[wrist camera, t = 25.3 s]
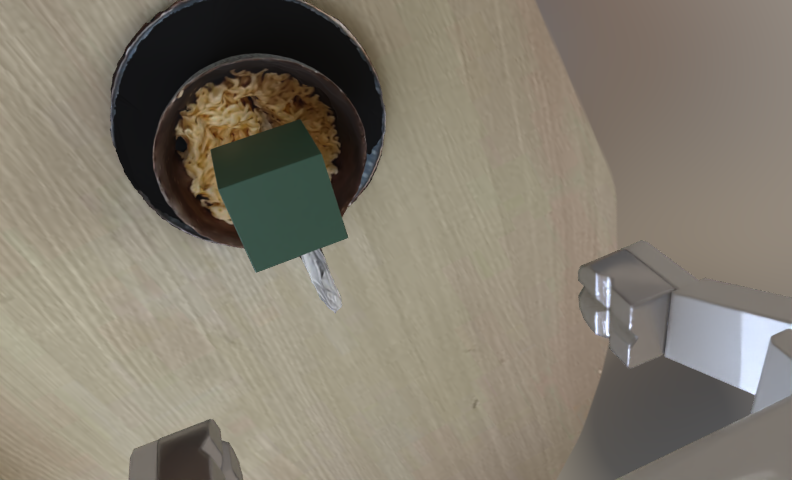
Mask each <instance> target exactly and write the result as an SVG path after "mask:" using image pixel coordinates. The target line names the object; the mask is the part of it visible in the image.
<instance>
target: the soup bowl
mask: <svg viewBox="0 0 792 480" xmlns="http://www.w3.org/2000/svg"><path fill="white" fill-rule="evenodd" d="M110 117H111V120H110V121H111V129H110V131H111V136H112V140H113V145H114V147H115V148H116V152H117V154H118V157H119V160H120V162H121V164H122V167H123V169H124V172H125V174H126V176H127V177H128V179H129V180H130V181H131V183H132V185H133V186H134V188H135V189H136V190H137V191H138V193H139V194H141V195H142V197H143V199H144V200H145V201H146V202H147V204H148V205H149V207H151V208H152V209H154V210H155V211H156V213H157V214H158V215H159V216H161V218H162V219H164V220H166V221H167V222H169V223H170V224H171V225H172V226H174V227H176V228H178V229H179V230H182V231H184V232H186V233H188V234H190V235H192V236H194V237H197V238H200V239H203V240H206V241H210V242H212V243H216V244H223V245H227V246H233V247H238V248H244V246H243V244H242V242H241V240H240V237H239V235H238V233H237V231H236V229H235V226H234V224H233V222H232V220H231V218H230V215H229V213H228V211H227V209H226V207H225V204H224V202H223V200H222V198H221V196H220V193H219V191H218V187H217V182H216V177H215V172H214V167H213V162H212V157H211V151H210V150H211V149H213V148H216V147H219V146H222V145H225V144H228V143H231V142H234V141H237V140H240V139H243V138H245V137H248V136H251V135H254V134H257V133H260V132H263V131H266V130H269V129H272V128H275V127H278V126H281V125H284V124H287V123H290V122H293V121H296V120H299V119H300V120H301V121H302V123H303V124H304V126H305V127H306V129H307V131H308V132H309V134H310V136H311V137H312V139H313V140H314V142H315V144H316V145H317V147H318V149H319V150H320V152H321V154H322V156H323V159H324V163H325V166H326V169H327V172H328V175H329V178H330V182H331V185H332V188H333V191H334V194H335V197H336V201H337V204H338V207H339V210H340V213H341V216H342V217H343V214H344V213H345V211H346V209H347V207H349V206H350V205H351V204H352V203H353V202H355V200H356V199H357V197H358V196H359V195H360V194H361V193H362V192H363V190H365V188H366V187H367V186H368V184H369V183H370V181H371V180H372V177H373V175H374V173H375V171H376V169H377V165H378V163H379V160H380V157H381V156H382V155H381V153H382V147H383V141H384V134H385V131H386V130H385V128H386V127H385V126H386V123H385V122H386V119H385V117H386V112H385V105H384V103H383V98H382V91H381V87H380V83H379V79H378V76H377V73H376V71H375V69H374V67H373V65H372V63H371V61H370V59H369V57H368V56H367V54H366V52H365V50H364V49H363V47H362V46H361V44H360V43H359V42H358V41H357V39H356V37H354V36H353V35H352V33H351V32H350V31H349V30H348V29H347V27H346V26H344V25H343V24H342V23H341V22H340V21H339V20H338V19H336V18H334V17H333V16H330V15H328V14H327V13H325V12H323V11H321V10H320V9H318V8H316V7H315V6H313V5H311V4H309V3H306V2H304V1H302V0H181V1H178V2H175V3H174V4H173V5H172V6H170V7H169V8H168V9H167V10H166V11H162V12H159V13H158V14H156V15H155V17H154V18H153V19H152V20H151V21H150V22H149V23H145V24H144V26H143V27H142V28H141V29H140V30H139V32H138V33H137V34H136V35H135V36H134V38H133V39H132V40H131V42H130V43H129V44H128V46H127V47H126V49H125V53H124V54H123V56H122V57H121V59H120V60H119V62H118V64H117V68H116V70H115V72H114V74H113V78H112V86H111V115H110ZM299 257H300V258H301V259H302V261H303V262H304V265H305V267H306V269H307V271H308V273H309V275H310V277H311V281H312V283H313V284H314V286H315V288H316V290H317V292H318V295H319V297H320V299H321V300H322V301H324V302H325V304H326V305H327V307H328V308H329V309H331V310H333V311H334V312H335V313H336V311H337V310H338V309H339V308H341V307H342V303H341V302H342V300H341V295H340V293H339V291H338V289H337V288H336V286H335V284H334V280H333V278H332V276H331V275H330V271H329V268H328V265H327V263H326V259H325V257H324V254H323V252H322V249H321V248H320V249H317V250H315V251H312V252H310V253H307V254H304V255H302V256H299Z"/></svg>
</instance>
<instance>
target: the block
mask: <svg viewBox="0 0 792 480" xmlns="http://www.w3.org/2000/svg"><path fill="white" fill-rule="evenodd" d="M210 151H211V157H212V162H213V167H214V172H215V177H216V182H217V187H218V191H219V193H220V196H221V198H222V200H223V202H224V204H225V207H226V209H227V211H228V213H229V215H230V218H231V220H232V222H233V224H234V226H235V229H236V231H237V233H238V235H239V237H240V240H241V242H242V244H243V246H244V248H245V251H246V253H247V255H248V257H249V259H250V262H251V264H252V266H253V268H254V270H255V272H259V271H262V270H265V269H267V268H270V267H273V266H275V265H278V264H281V263H283V262H286V261H288V260H291V259H294V258H296V257H299V256H302V255H304V254H307V253H310V252H312V251H315V250H317V249H320V248H323V247H325V246H328V245H331V244H333V243H336V242H339V241H341V240H344V239H346V238H348V235H347V232H346V229H345V226H344V223H343V220H342V216H341V213H340V210H339V207H338V204H337V201H336V197H335V194H334V191H333V188H332V185H331V182H330V178H329V175H328V172H327V169H326V166H325V163H324V159H323V156H322V154H321V152H320V150H319V149H318V147H317V145H316V144H315V142H314V140H313V139H312V137H311V136H310V134H309V132H308V131H307V129H306V127H305V126H304V124H303V123H302V121H301V120H300V119H299V120H296V121H293V122H290V123H287V124H284V125H281V126H278V127H275V128H272V129H269V130H266V131H263V132H260V133H257V134H254V135H251V136H248V137H245V138H243V139H240V140H237V141H234V142H231V143H228V144H225V145H222V146H219V147H216V148H213V149H211V150H210Z"/></svg>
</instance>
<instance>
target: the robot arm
mask: <svg viewBox="0 0 792 480" xmlns="http://www.w3.org/2000/svg"><path fill="white" fill-rule="evenodd" d="M578 281H579V282H580V283H581V284H582V285H583V286H584V287H583V289H582V290H581V292H580V294H579V308H580V310H581V313H582V316H583V318H584V320H585V321H586V323H587V324H588V326H589V327H590V328H591V329H592V331H593V332H594V333H595V334H596V335H599V336H602V337H605V338H609V349H611V351H612V352H613V353H614V354H615V355H616V356H617V357H618V358H619V359H620V360H621V361H622V362H623V363H624V364H625V365H626V366H627V367H628V368H629V369H630V368H633V367H636V366H638V365H640V364H643V363H645V362H648V361H650V360H652V359H655V358H657V357H660V356H662V355H664V354H665V357H667V358H669V359H672V360H674V361H676V362H679V363H681V364H683V365H686V366H688V367H691V368H693V369H695V370H698V371H700V372H702V373H705V374H707V375H709V376H712V377H714V378H716V379H719V380H721V381H724V382H726V383H728V384H731V385H733V386H735V387H737V388H740V389H742V390H745V391H747V392H750V393H752V394H754V395H755V398H754V402H753V406H752V410H751V413H750V415H748V416H747V417H744V418H742V419H740V420H738V421H736V422H734V423H732V424H730V425H728V426H726V427H724V428H721V429H719V430H718V431H715V432H713V433H711V434H709V435H707V436H705V437H703V438H701V439H699V440H697V441H695V442H693V443H690V444H688V445H686V446H685V447H682V448H680V449H678V450H676V451H674V452H672V453H670V454H668V455H666V456H664V457H662V458H660V459H657V460H655V461H653V462H651V463H649V464H647V465H645V466H643V467H641V468H639V469H637V470H635V471H633V472H631V473H628V474H626V475H624V476H622V477H620V478H618V479H616V480H792V298H791V297H787V296H783V295H779V294H773V293H770V292H765V291H761V290H757V289H752V288H748V287H744V286H739V285H734V284H730V283H726V282H722V281H716V280H713V279H708V278H703V279H701V280H698V279H697V278H696V277H694V276H693V275H692V274H690V273H689V272H687V271H686V270H685V269H683V268H682V267H681V266H679V265H678V264H677V263H675V262H674V261H672V260H671V259H670V258H669V257H667V256H666V255H664V254H663V253H662V252H660V251H659V250H658V249H656V248H655V247H653V246H652V245H651V244H650V243H648V242H646V241H642V240H641V241H639V242H636V243H634V244H632V245H630V246H627V247H624V248H622V249H621V250H617V251H615V252H612V253H610V254H608V255H605V256H603V257H601V258H598V259H596V260H594V261H591V262H589V263H587V264H584V265H582V266H580V269H579V271H578ZM129 480H243V475H242V471H241V468H240V464H239V461H238V458H237V456H236V454H235V452H234V450H233V448H232V447H231V445H230V443H229V442H225V441H222V439H221V431H220V428H219V427H218V425H217V424H216V422H215V421H214V420H213V419H209V420H206V421H204V422H201V423H199V424H196V425H193V426H191V427H188V428H186V429H183V430H180V431H178V432H175V433H173V434H170V435H167V436H165V437H162V438H160V439H158V440H156V441H153V442H151V443H148V444H145V445H143V446H140V447H138V448H135V449H134V450H133V452H132V454H131V457H130V466H129Z"/></svg>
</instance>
